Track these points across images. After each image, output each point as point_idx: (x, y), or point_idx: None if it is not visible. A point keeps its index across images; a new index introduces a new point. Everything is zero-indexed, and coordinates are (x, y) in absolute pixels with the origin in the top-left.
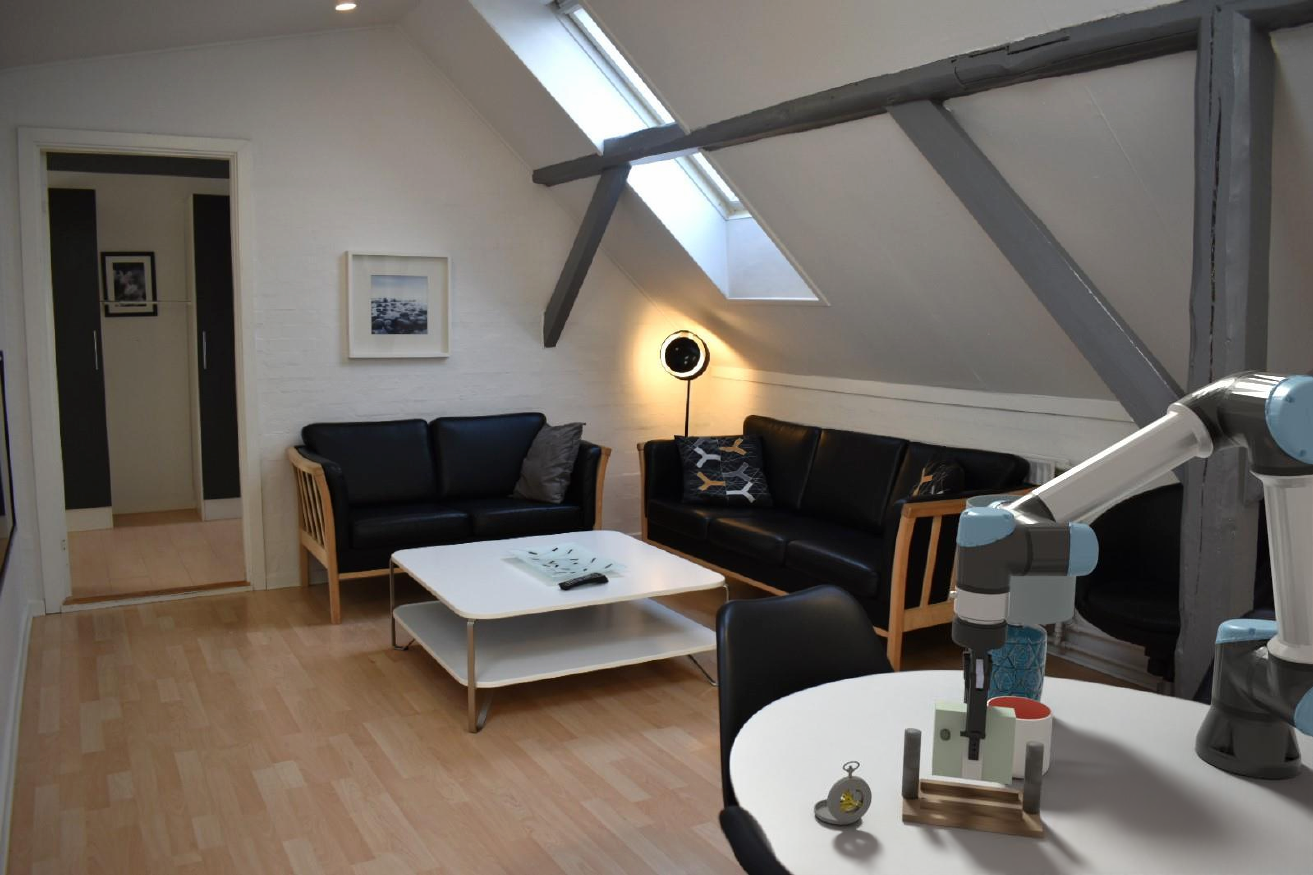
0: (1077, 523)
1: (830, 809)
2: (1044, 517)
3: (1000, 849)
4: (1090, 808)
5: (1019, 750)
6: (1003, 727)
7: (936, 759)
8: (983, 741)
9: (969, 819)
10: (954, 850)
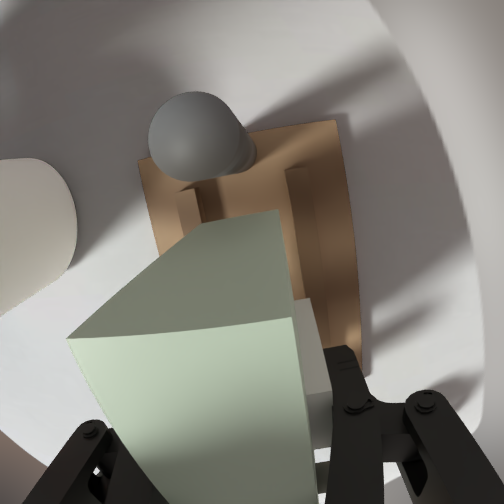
0: None
1: None
2: None
3: (413, 205)
4: (139, 50)
5: (38, 219)
6: (298, 348)
7: None
8: (328, 378)
9: (345, 281)
10: (438, 285)
